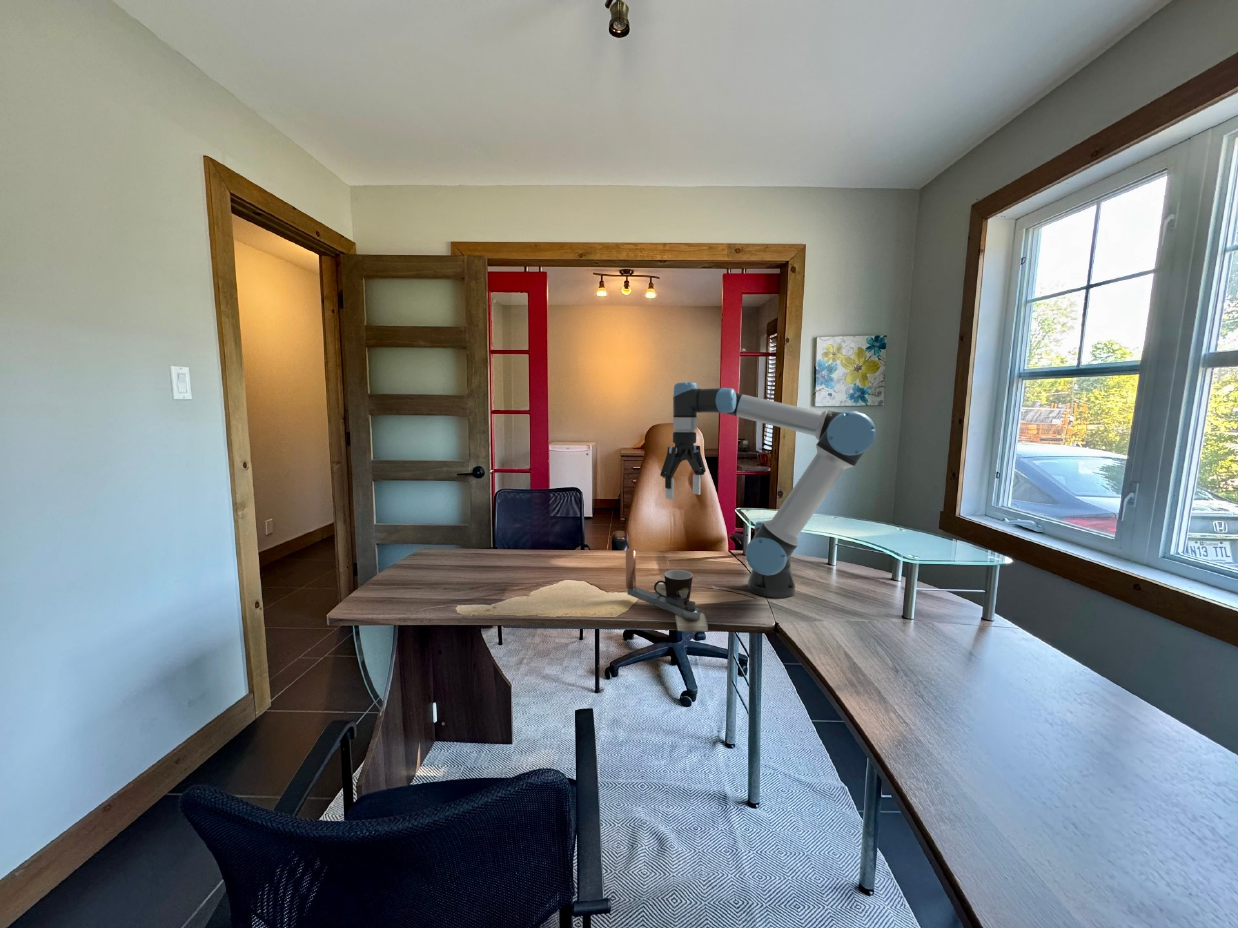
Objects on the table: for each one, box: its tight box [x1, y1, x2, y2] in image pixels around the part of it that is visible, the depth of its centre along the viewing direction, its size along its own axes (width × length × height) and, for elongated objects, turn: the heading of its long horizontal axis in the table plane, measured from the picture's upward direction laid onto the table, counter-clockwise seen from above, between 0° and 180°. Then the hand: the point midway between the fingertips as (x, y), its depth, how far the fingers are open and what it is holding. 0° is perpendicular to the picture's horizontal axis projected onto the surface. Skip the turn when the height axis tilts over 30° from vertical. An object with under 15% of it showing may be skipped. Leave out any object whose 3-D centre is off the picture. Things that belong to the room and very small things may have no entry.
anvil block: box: [654, 580, 667, 597], centre depth 151 cm, size 10×3×4 cm, turn 88°
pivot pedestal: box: [674, 600, 709, 632], centre depth 129 cm, size 8×8×6 cm
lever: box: [625, 548, 701, 621], centre depth 138 cm, size 28×6×14 cm, turn 43°
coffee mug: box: [653, 569, 694, 606], centre depth 142 cm, size 12×9×10 cm
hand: (683, 496), depth 152 cm, fingers open, 13 cm apart
